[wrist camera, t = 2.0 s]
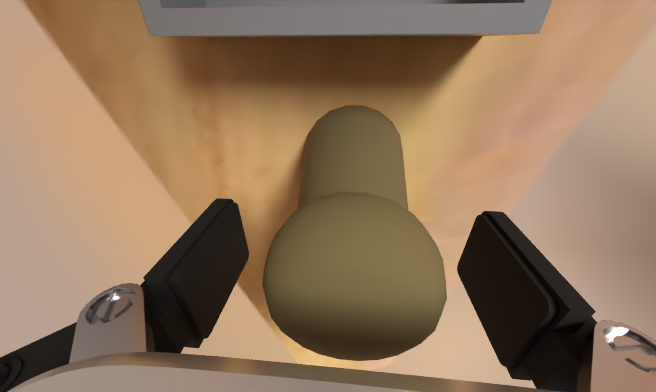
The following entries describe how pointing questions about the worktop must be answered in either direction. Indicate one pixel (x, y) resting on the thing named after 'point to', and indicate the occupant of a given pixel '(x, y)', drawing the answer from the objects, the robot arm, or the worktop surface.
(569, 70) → the worktop surface
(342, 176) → the cork
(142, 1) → the box
